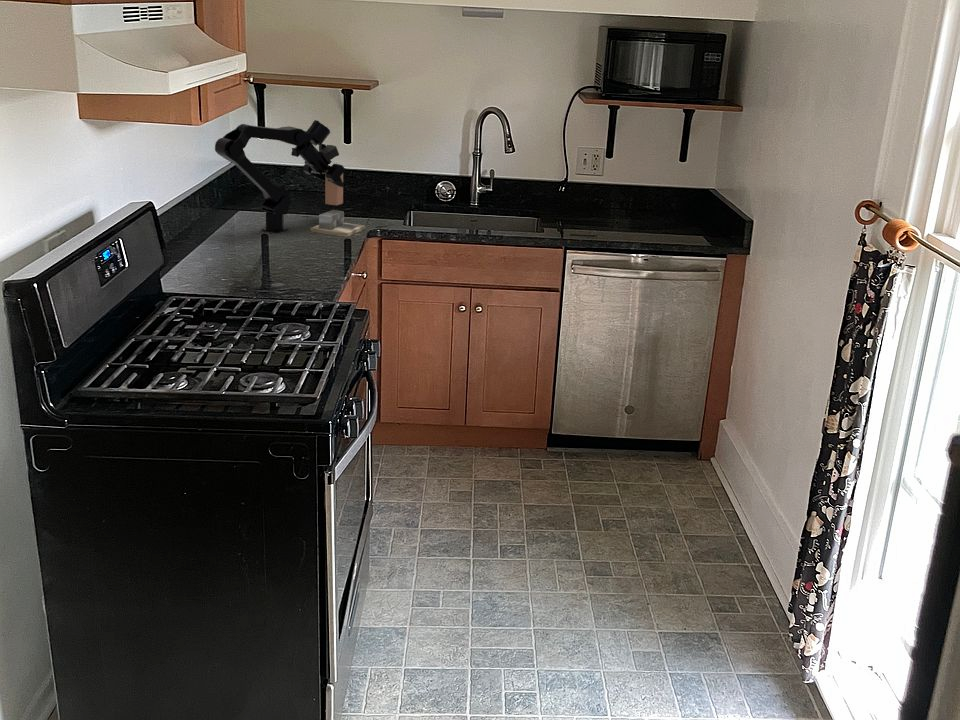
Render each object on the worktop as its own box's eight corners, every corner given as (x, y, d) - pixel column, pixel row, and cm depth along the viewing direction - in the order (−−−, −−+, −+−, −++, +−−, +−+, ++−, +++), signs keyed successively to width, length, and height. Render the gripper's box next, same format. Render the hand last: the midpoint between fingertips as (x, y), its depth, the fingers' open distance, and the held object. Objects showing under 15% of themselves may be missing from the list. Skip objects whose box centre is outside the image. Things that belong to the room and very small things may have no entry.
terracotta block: (336, 205, 330) (337, 174, 326) (325, 203, 331) (325, 172, 327) (342, 203, 334) (343, 172, 330) (331, 201, 335) (331, 171, 331)
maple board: (346, 236, 316) (347, 220, 314) (310, 231, 320) (310, 215, 318) (365, 229, 328) (365, 213, 326) (329, 223, 332) (330, 208, 330)
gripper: (340, 141, 315) (366, 171, 327) (309, 134, 328) (335, 163, 339) (321, 166, 313) (347, 196, 324) (291, 157, 325) (317, 186, 337)
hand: (337, 184), depth 331 cm, fingers closed on terracotta block, 6 cm apart
